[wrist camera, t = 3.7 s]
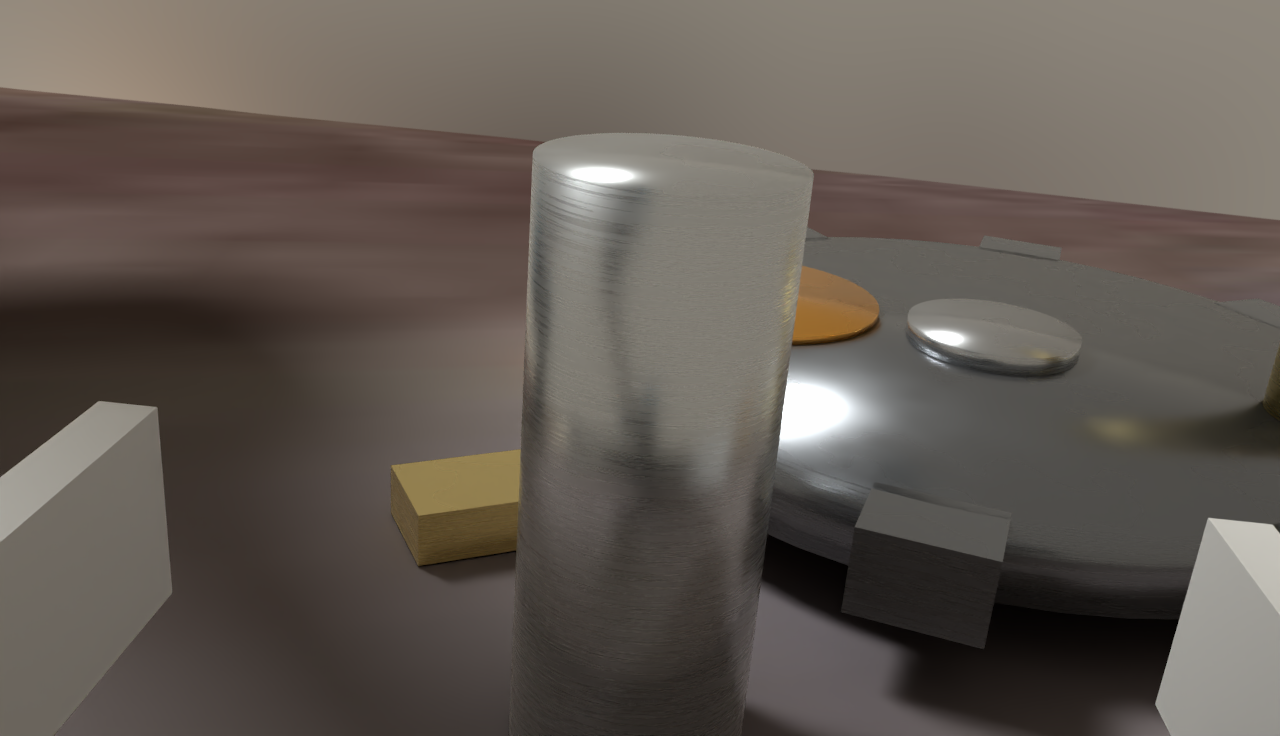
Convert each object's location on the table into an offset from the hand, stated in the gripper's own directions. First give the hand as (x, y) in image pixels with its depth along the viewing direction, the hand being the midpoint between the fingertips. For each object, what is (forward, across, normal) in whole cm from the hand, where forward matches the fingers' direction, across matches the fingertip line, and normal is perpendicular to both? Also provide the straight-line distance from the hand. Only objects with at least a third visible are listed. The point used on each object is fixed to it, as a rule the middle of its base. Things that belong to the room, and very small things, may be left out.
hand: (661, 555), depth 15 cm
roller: (+4, 0, -6) cm, 7 cm away
